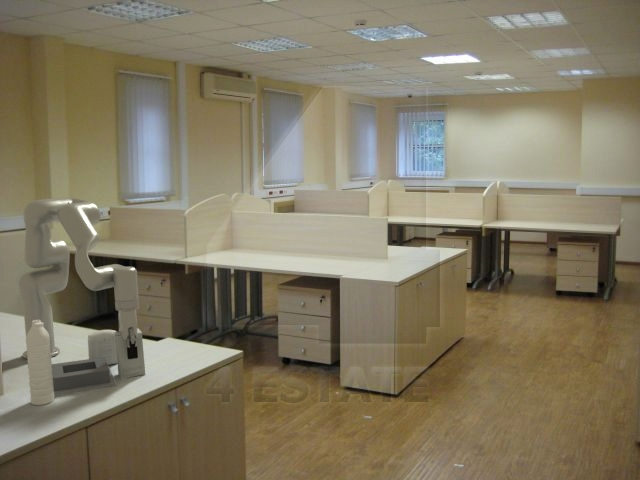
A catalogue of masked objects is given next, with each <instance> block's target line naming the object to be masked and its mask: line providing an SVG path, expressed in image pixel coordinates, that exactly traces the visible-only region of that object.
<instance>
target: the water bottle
mask: <svg viewBox="0 0 640 480" xmlns="http://www.w3.org/2000/svg"><path fill="white" fill-rule="evenodd" d="M43 326H44V323H43V322H41V320H33V321H32V327H31V329H30V330H29V332H28V333H27V335H26V334H25V344H26V351H27V356H28V357H27V358H28V359H27V368H28V380H29V382H28V383H29V394H30V403H31V404H32V405H35V406H41V405H47V404H50V403H52V402H53V401H54V400H55V396H54V392H53V390H54V388H53V380H52V379H53V375H52V367H51V366H52V364H53V363H52V357H51V351H50V336H49V333H48V332H47V331H46V329H45V328H44V327H43Z"/></svg>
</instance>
